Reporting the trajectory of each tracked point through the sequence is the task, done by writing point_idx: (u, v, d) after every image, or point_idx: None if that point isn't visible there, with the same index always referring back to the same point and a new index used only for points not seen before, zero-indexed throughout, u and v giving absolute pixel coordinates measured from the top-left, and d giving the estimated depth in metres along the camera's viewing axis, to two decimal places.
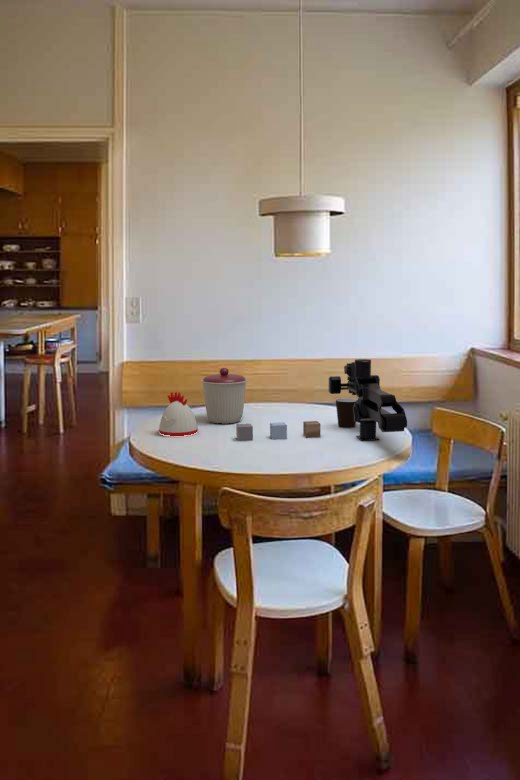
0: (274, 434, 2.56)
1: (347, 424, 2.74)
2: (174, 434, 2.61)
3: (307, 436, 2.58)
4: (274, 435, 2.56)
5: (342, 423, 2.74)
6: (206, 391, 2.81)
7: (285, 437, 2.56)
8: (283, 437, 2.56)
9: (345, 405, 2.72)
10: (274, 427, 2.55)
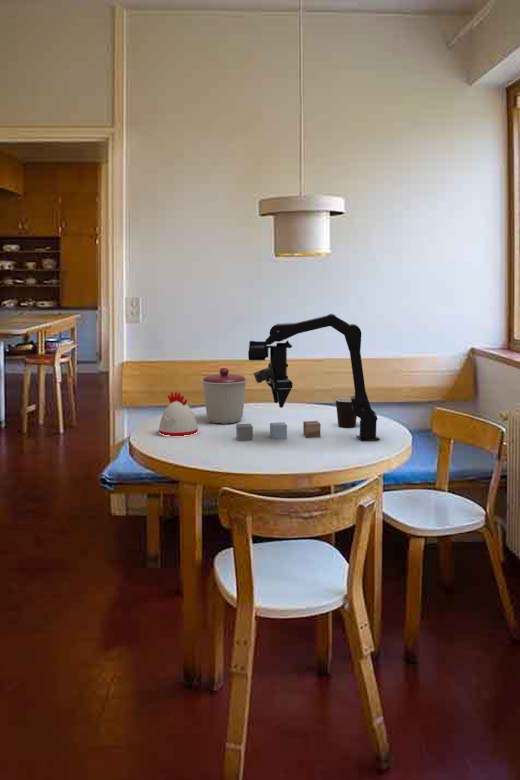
0: (274, 434, 2.56)
1: (347, 424, 2.74)
2: (174, 434, 2.61)
3: (307, 436, 2.58)
4: (274, 435, 2.56)
5: (342, 423, 2.74)
6: (206, 391, 2.81)
7: (285, 437, 2.56)
8: (283, 437, 2.56)
9: (345, 405, 2.72)
10: (274, 427, 2.55)
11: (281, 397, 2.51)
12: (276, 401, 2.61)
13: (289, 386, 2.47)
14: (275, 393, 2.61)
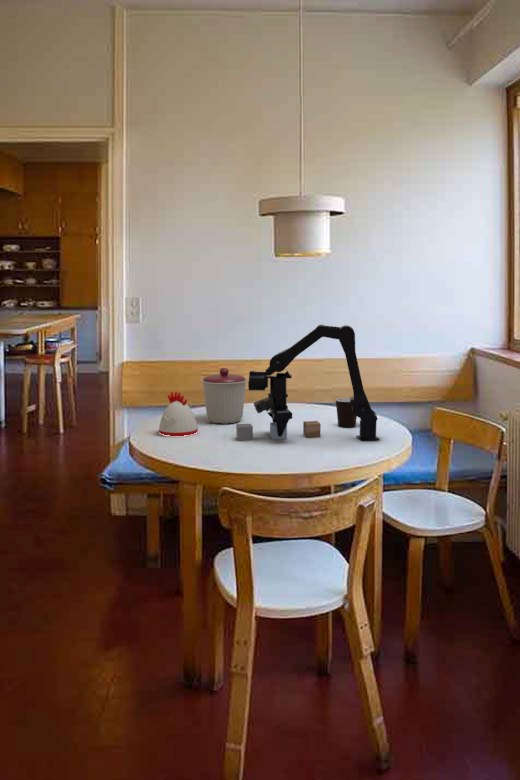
0: (274, 434, 2.56)
1: (347, 424, 2.74)
2: (174, 434, 2.61)
3: (307, 436, 2.58)
4: (274, 435, 2.56)
5: (342, 423, 2.74)
6: (206, 391, 2.81)
7: (285, 437, 2.56)
8: (283, 437, 2.56)
9: (345, 405, 2.72)
10: (274, 427, 2.55)
11: (280, 426, 2.54)
12: None
13: (289, 417, 2.48)
14: None
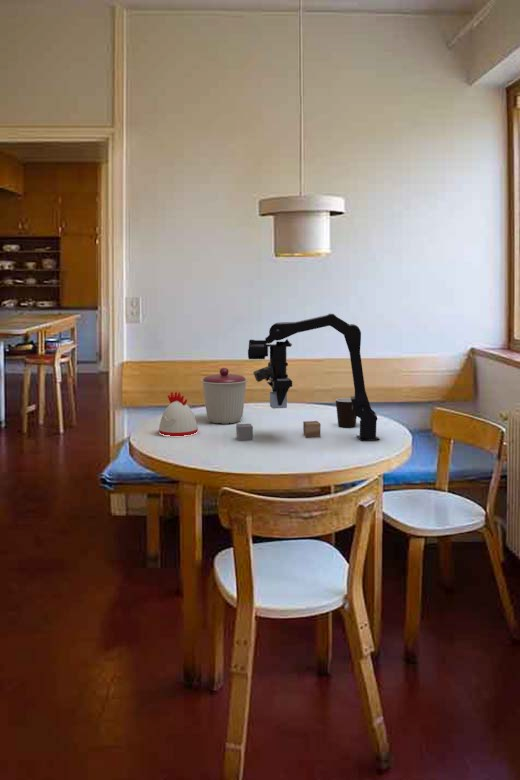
0: (274, 403, 2.54)
1: (347, 424, 2.74)
2: (174, 434, 2.61)
3: (307, 436, 2.58)
4: (274, 404, 2.54)
5: (342, 423, 2.74)
6: (206, 391, 2.81)
7: (285, 406, 2.55)
8: (283, 406, 2.55)
9: (345, 405, 2.72)
10: (274, 396, 2.53)
11: (280, 395, 2.52)
12: None
13: (289, 385, 2.47)
14: None
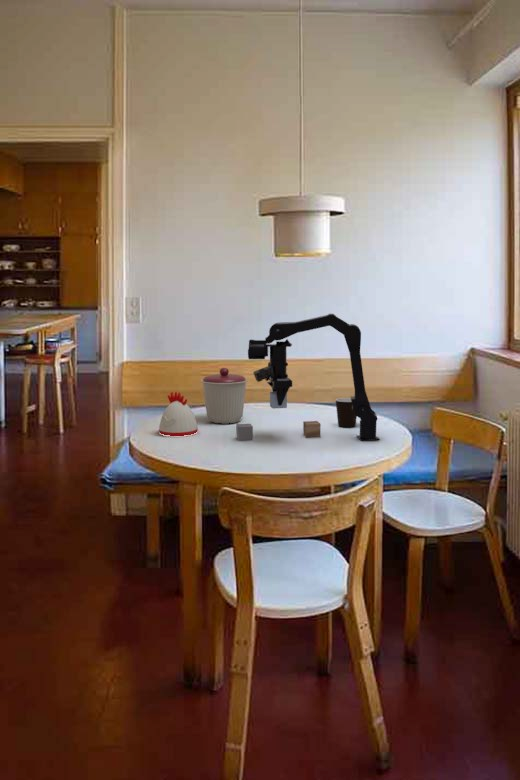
0: (274, 403, 2.54)
1: (347, 424, 2.74)
2: (174, 434, 2.61)
3: (307, 436, 2.58)
4: (274, 404, 2.54)
5: (342, 423, 2.74)
6: (206, 391, 2.81)
7: (285, 406, 2.55)
8: (283, 406, 2.55)
9: (345, 405, 2.72)
10: (274, 396, 2.53)
11: (280, 395, 2.52)
12: None
13: (289, 385, 2.47)
14: None
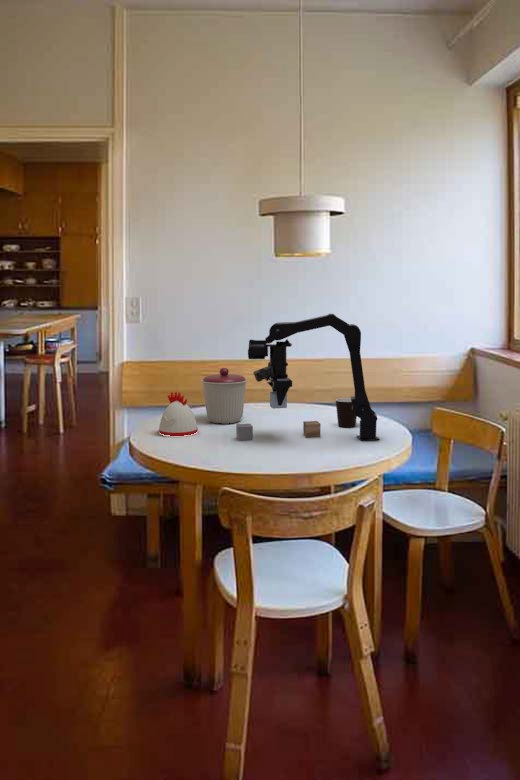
0: (274, 403, 2.54)
1: (347, 424, 2.74)
2: (174, 434, 2.61)
3: (307, 436, 2.58)
4: (274, 404, 2.54)
5: (342, 423, 2.74)
6: (206, 391, 2.81)
7: (285, 406, 2.55)
8: (283, 406, 2.55)
9: (345, 405, 2.72)
10: (274, 396, 2.53)
11: (280, 395, 2.52)
12: None
13: (289, 385, 2.47)
14: None
